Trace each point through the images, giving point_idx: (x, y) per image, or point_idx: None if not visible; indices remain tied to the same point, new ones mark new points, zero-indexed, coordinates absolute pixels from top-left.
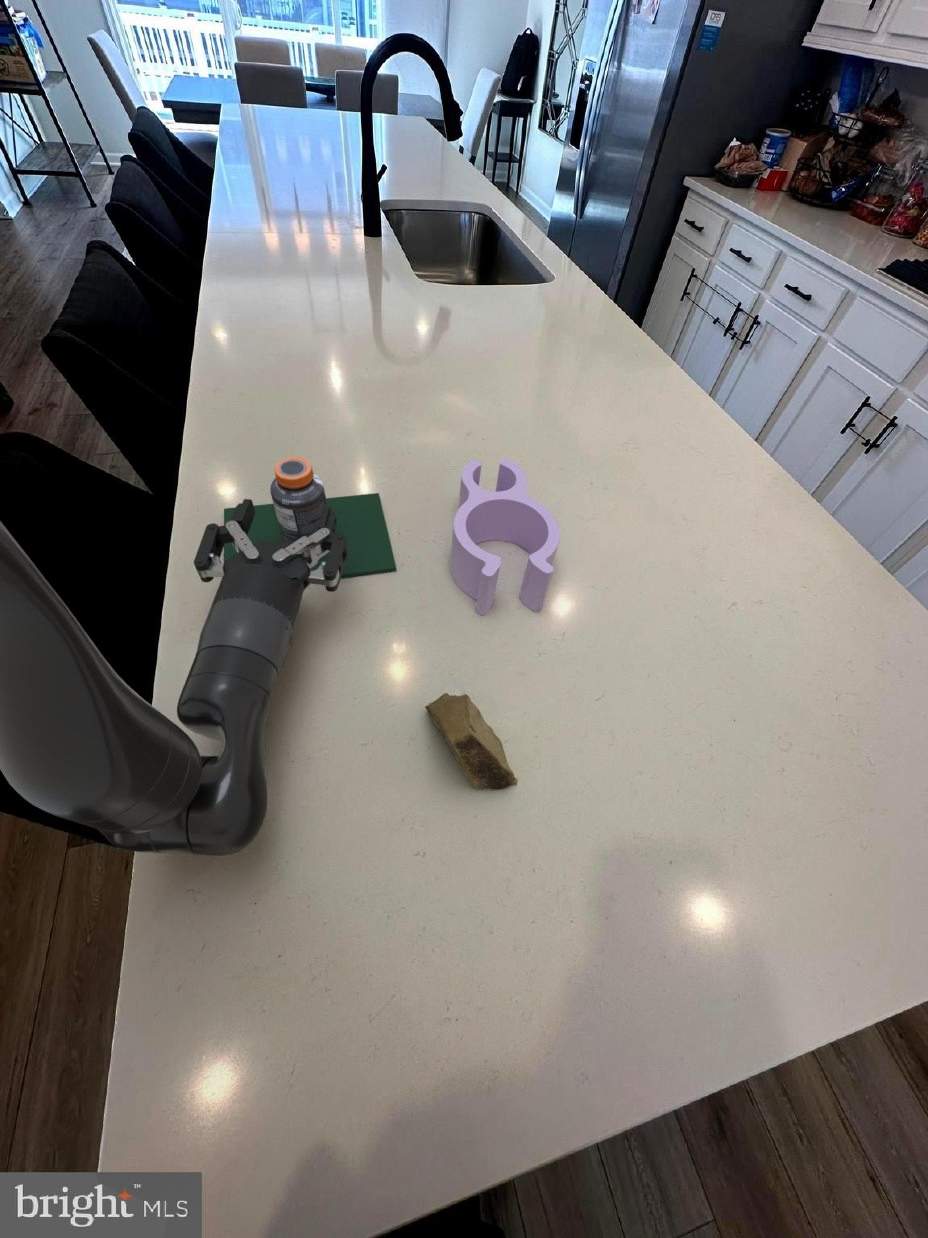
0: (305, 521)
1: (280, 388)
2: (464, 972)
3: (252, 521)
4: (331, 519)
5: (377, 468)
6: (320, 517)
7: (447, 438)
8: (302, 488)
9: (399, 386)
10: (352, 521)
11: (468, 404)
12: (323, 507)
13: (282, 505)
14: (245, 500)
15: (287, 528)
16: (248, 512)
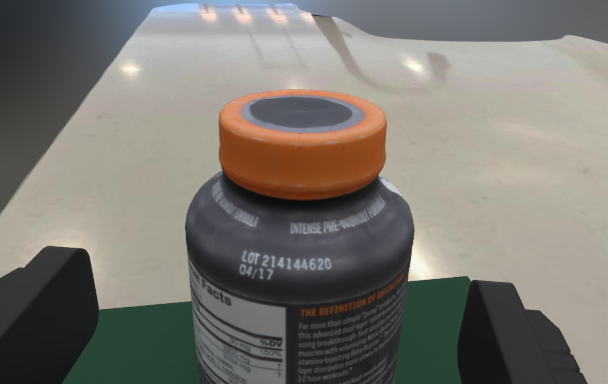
0: (333, 366)
1: (212, 114)
2: None
3: (107, 357)
4: (557, 363)
5: (430, 225)
6: (503, 350)
7: (548, 176)
8: (343, 201)
9: (412, 113)
10: (427, 359)
11: (546, 133)
12: (482, 289)
13: (238, 284)
14: (51, 251)
15: None
16: (50, 317)
